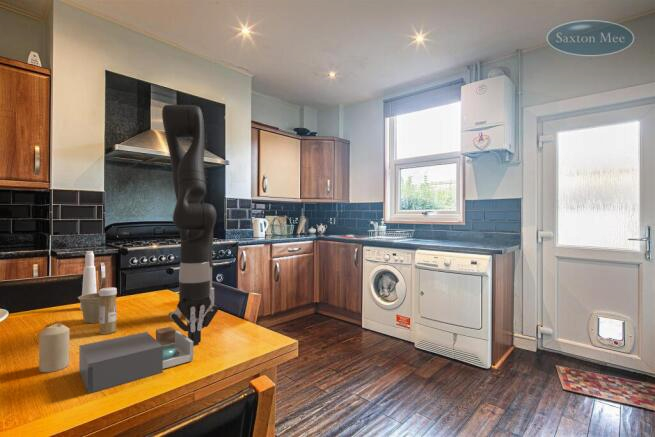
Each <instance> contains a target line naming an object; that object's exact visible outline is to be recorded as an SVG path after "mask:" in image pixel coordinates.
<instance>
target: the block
mask: <svg viewBox="0 0 655 437" xmlns="http://www.w3.org/2000/svg"><path fill="white" fill-rule="evenodd" d="M175 331H177V330H176V329H175V328H174V327H173V326H168V327H167V326H166V327H163V328H158V329H155V340H156V341H158V342H159V343H160V344H161V345H162V346H163V345H167V344H171V343H175Z"/></svg>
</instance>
